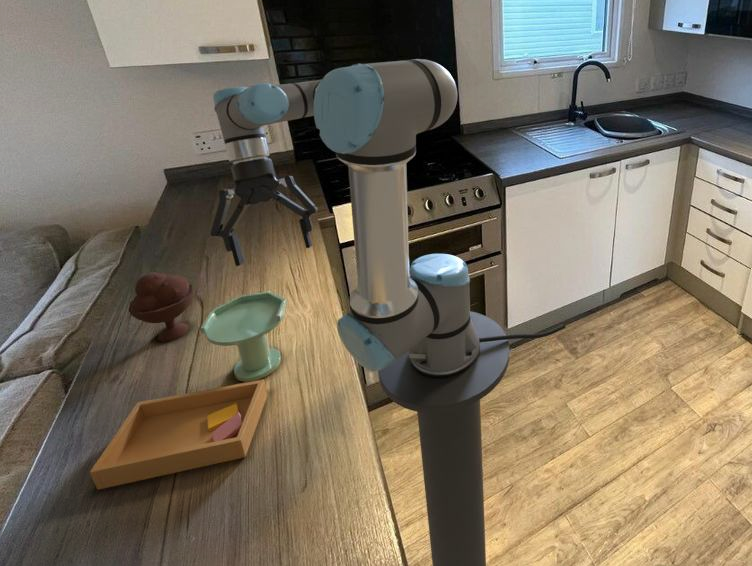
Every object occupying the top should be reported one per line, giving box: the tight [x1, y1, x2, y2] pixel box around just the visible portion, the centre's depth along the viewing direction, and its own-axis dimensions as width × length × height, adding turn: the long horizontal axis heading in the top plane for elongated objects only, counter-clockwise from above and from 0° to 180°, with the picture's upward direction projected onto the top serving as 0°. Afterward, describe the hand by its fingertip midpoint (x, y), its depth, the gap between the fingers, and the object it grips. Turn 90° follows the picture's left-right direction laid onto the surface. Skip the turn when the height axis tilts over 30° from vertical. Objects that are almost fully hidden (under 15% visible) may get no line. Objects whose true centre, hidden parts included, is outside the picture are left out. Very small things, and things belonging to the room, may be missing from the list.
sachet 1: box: [207, 403, 239, 432], centre depth 76 cm, size 4×3×1 cm
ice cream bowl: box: [128, 271, 194, 343], centre depth 95 cm, size 11×11×15 cm
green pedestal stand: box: [200, 291, 288, 383], centre depth 86 cm, size 13×13×13 cm
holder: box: [89, 378, 269, 490], centre depth 73 cm, size 20×13×4 cm, turn 106°
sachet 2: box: [212, 412, 243, 442], centre depth 73 cm, size 4×3×1 cm
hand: (275, 255), depth 95 cm, fingers open, 13 cm apart
